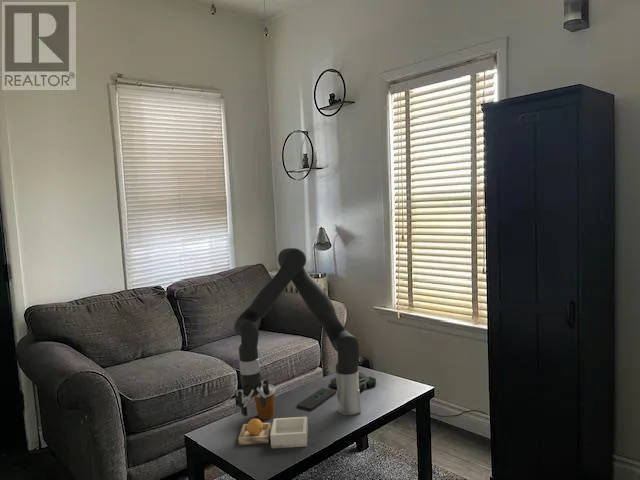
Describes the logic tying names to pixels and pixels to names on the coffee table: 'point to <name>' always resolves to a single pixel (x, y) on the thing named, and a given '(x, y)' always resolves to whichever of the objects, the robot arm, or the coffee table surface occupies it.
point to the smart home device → (316, 399)
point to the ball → (254, 426)
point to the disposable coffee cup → (269, 407)
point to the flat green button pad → (363, 381)
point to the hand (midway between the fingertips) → (254, 411)
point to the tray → (255, 439)
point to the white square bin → (289, 432)
